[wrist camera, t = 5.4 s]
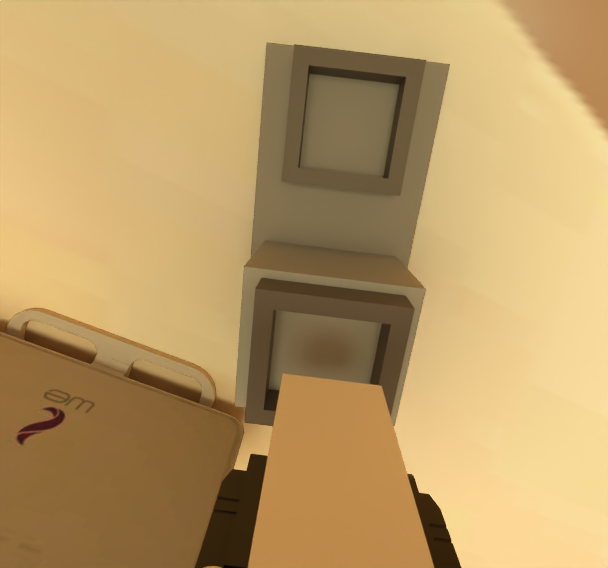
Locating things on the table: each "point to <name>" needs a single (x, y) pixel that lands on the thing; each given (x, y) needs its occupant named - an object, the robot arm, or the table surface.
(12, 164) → the table surface
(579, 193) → the table surface
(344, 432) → the plug
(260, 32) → the table surface
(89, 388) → the network device
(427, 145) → the grey stepped block
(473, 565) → the table surface
